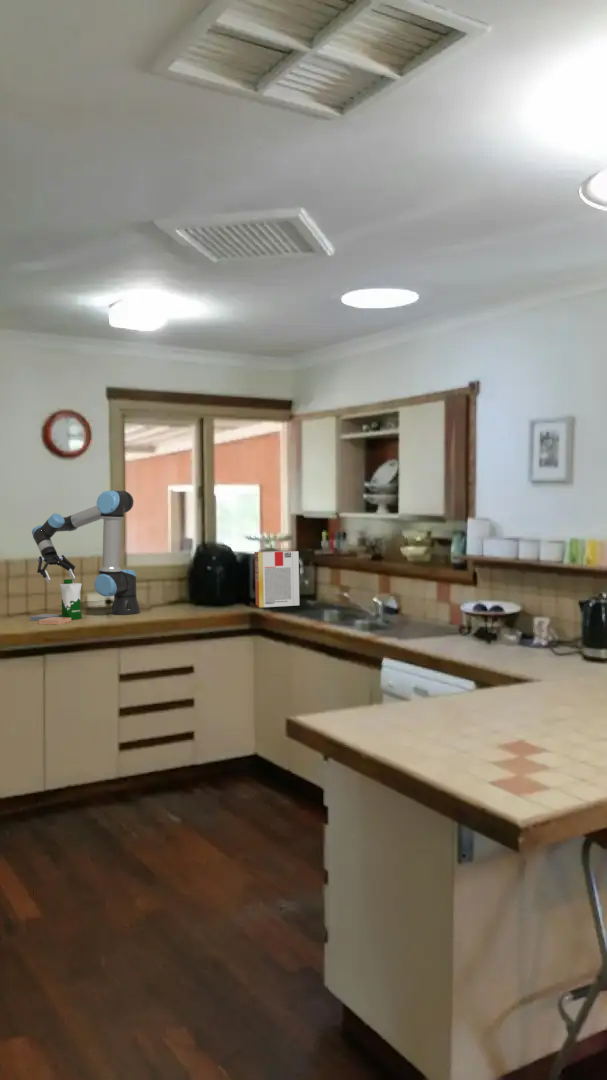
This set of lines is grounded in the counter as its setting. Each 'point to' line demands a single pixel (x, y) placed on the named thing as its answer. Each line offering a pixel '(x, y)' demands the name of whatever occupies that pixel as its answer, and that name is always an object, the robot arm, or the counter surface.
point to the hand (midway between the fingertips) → (61, 580)
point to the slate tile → (44, 616)
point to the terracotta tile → (55, 620)
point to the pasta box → (277, 578)
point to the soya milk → (71, 599)
